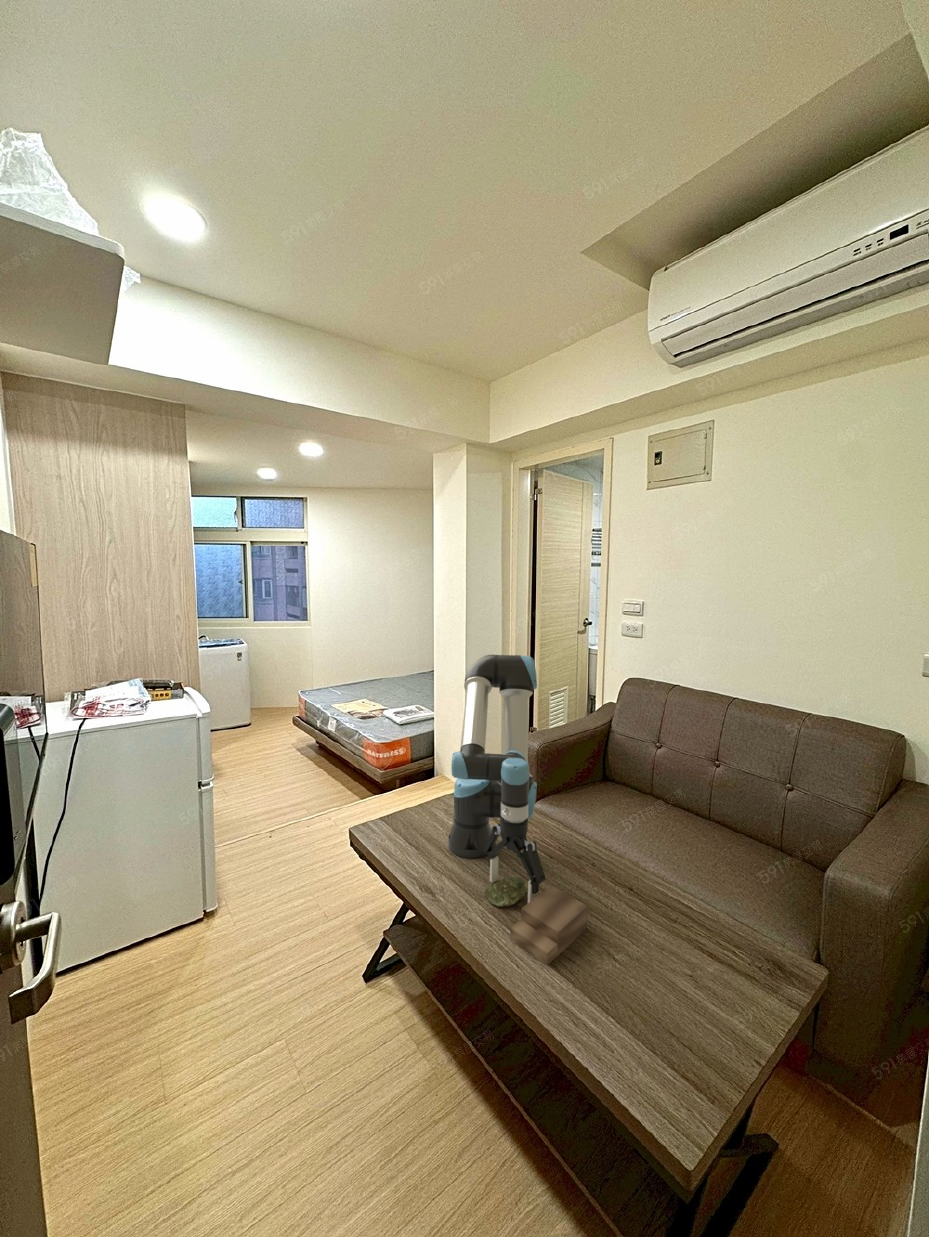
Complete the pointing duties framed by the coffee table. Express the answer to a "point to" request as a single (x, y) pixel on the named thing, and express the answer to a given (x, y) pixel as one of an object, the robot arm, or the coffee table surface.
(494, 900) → the seashell
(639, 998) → the coffee table surface
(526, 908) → the block
